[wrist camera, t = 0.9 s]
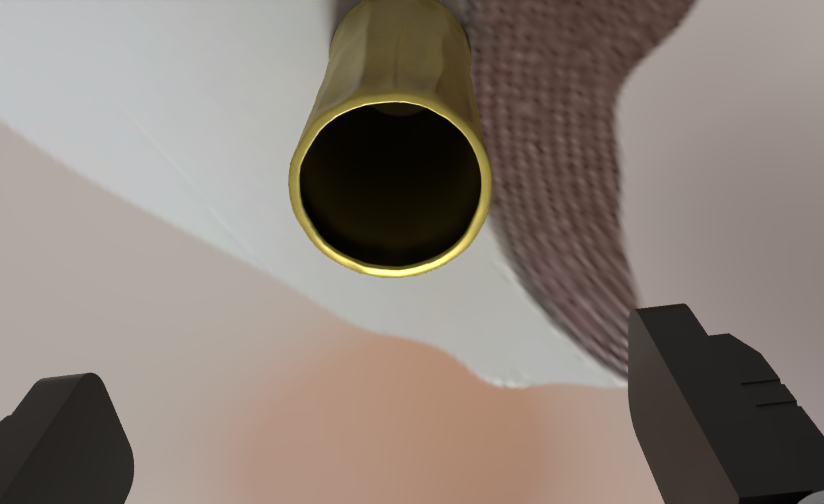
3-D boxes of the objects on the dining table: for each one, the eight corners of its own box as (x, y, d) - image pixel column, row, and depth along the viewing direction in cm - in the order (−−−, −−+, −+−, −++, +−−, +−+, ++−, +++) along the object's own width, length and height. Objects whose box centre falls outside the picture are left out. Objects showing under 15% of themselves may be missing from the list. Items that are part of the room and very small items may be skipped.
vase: (304, 29, 30) (224, 136, 17) (435, -37, 29) (453, 26, 16) (368, 153, 32) (340, 325, 20) (491, 97, 31) (546, 242, 18)
